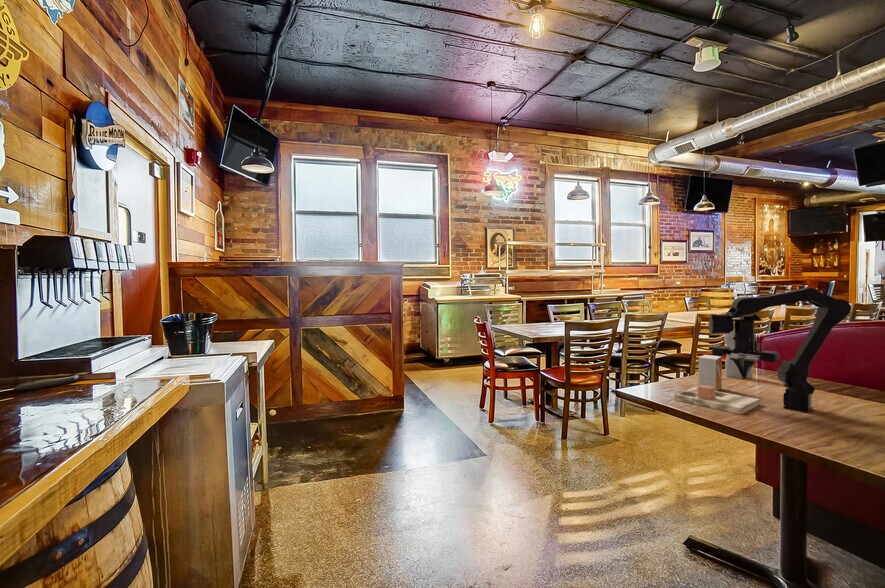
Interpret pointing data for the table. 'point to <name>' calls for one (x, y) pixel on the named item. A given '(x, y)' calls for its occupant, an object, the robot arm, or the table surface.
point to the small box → (710, 371)
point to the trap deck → (719, 401)
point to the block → (706, 392)
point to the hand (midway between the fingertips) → (744, 378)
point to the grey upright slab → (730, 366)
